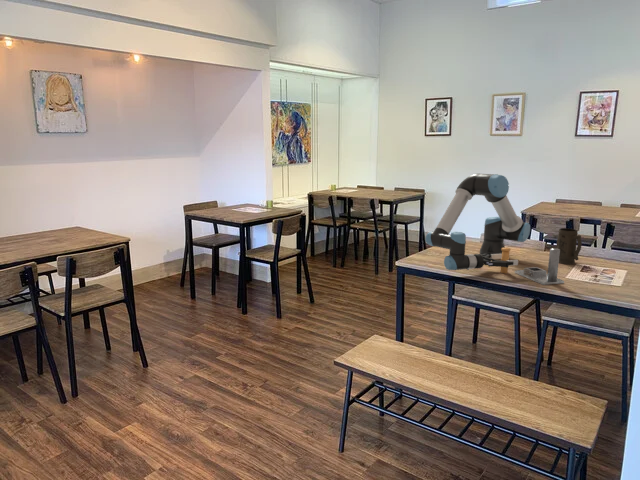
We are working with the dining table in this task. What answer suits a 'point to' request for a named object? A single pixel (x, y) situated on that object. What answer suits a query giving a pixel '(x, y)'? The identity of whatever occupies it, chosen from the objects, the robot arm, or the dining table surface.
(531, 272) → the grey upright stand
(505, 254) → the orange cylinder
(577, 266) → the dining table surface
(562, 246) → the beer stein
